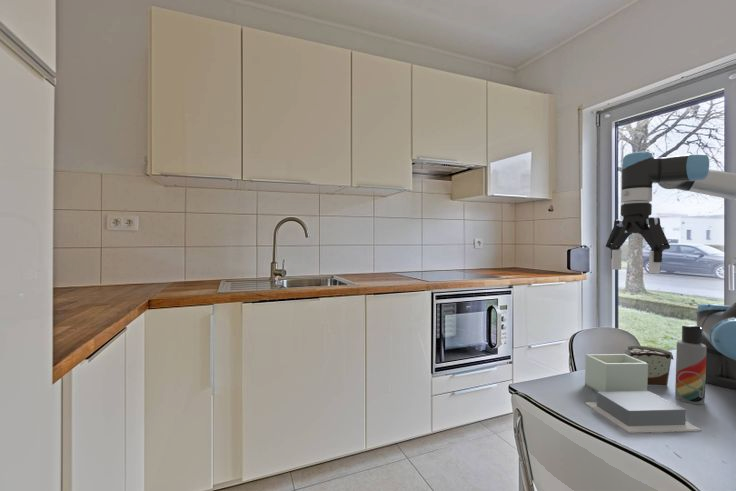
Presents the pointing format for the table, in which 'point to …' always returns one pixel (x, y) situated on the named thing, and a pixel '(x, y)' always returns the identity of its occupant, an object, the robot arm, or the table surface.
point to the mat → (643, 428)
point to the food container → (653, 363)
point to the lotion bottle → (691, 366)
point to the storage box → (615, 373)
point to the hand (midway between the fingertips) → (634, 271)
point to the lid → (641, 408)
